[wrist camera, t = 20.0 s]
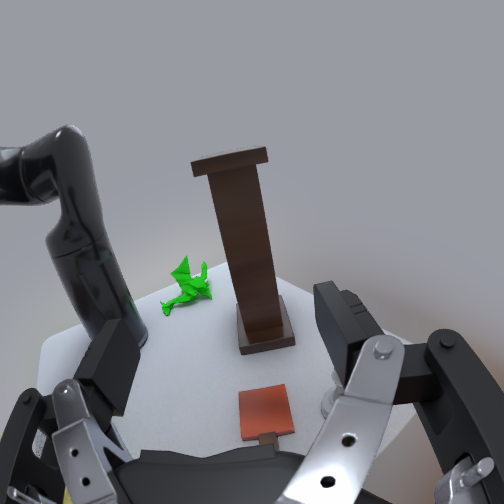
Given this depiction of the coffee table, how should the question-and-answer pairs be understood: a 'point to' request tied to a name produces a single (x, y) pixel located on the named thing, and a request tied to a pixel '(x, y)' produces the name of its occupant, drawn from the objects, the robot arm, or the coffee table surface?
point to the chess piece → (331, 395)
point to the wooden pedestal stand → (247, 247)
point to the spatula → (265, 414)
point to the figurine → (188, 285)
